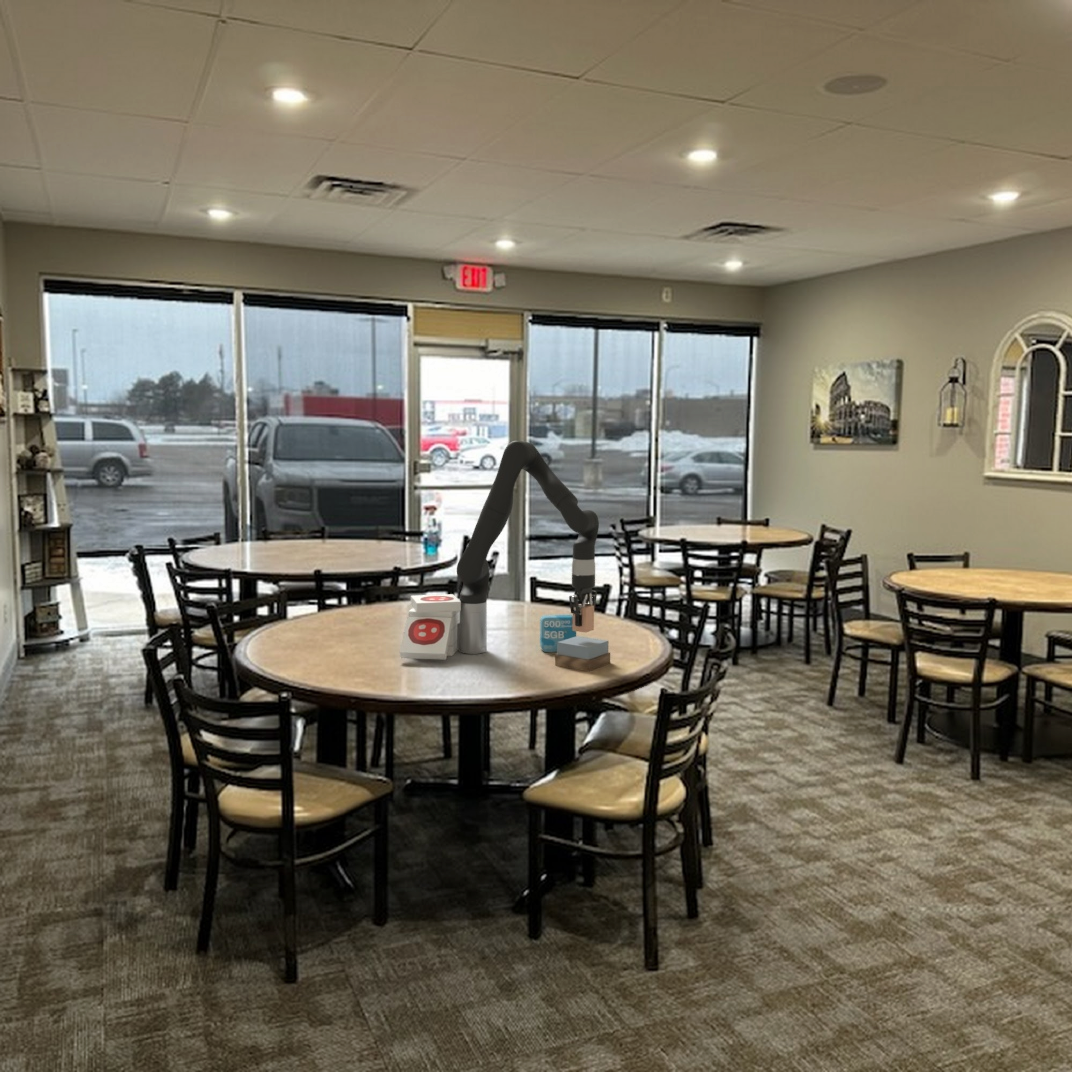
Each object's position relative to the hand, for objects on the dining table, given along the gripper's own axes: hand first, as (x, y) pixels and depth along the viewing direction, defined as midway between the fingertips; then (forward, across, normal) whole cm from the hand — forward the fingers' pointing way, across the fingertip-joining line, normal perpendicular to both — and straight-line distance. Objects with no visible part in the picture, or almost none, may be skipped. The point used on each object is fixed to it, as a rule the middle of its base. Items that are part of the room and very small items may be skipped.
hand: (582, 624), depth 308 cm
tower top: (+10, 0, 0) cm, 10 cm away
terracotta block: (+2, 0, 0) cm, 2 cm away
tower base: (+14, 0, 0) cm, 14 cm away
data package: (+13, -12, -17) cm, 25 cm away
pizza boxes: (+13, +17, -49) cm, 53 cm away
